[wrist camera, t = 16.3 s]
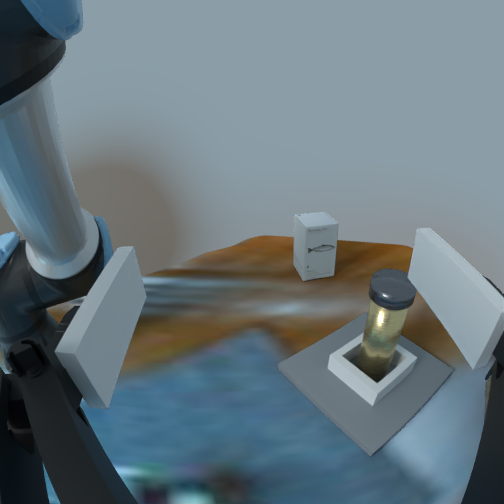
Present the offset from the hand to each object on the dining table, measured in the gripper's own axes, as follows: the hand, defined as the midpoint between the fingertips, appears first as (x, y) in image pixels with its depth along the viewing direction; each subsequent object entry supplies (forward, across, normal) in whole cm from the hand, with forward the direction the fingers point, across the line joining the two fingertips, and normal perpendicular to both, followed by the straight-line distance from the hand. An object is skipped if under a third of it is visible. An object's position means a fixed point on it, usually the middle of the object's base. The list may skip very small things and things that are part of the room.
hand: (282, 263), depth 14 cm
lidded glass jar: (+16, +15, -29) cm, 36 cm away
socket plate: (+16, +15, -30) cm, 37 cm away
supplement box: (+47, +13, -30) cm, 57 cm away
